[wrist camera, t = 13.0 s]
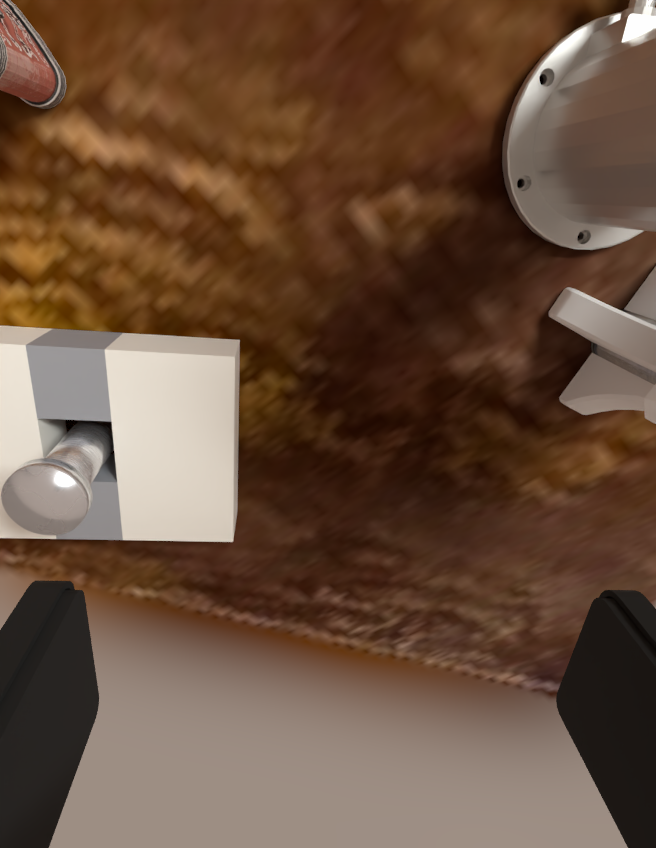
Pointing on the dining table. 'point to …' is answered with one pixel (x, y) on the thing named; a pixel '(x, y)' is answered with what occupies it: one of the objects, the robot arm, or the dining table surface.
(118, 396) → the clevis block
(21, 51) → the lighter
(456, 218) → the dining table surface
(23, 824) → the robot arm
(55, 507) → the steel pin
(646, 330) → the toy gun turret
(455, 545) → the dining table surface
